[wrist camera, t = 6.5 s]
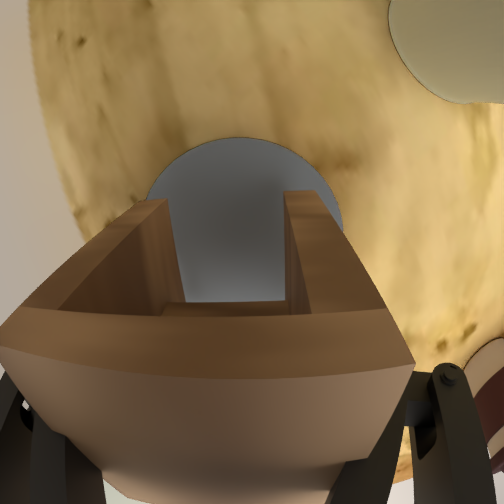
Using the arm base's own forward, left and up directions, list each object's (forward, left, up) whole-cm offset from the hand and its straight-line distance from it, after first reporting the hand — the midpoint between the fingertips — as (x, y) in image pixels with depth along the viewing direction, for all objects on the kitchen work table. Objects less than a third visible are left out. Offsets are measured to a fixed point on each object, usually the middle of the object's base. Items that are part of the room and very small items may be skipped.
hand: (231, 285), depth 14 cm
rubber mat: (0, 0, -5) cm, 5 cm away
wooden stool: (0, 0, 0) cm, 0 cm away
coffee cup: (+16, +27, -5) cm, 32 cm away
